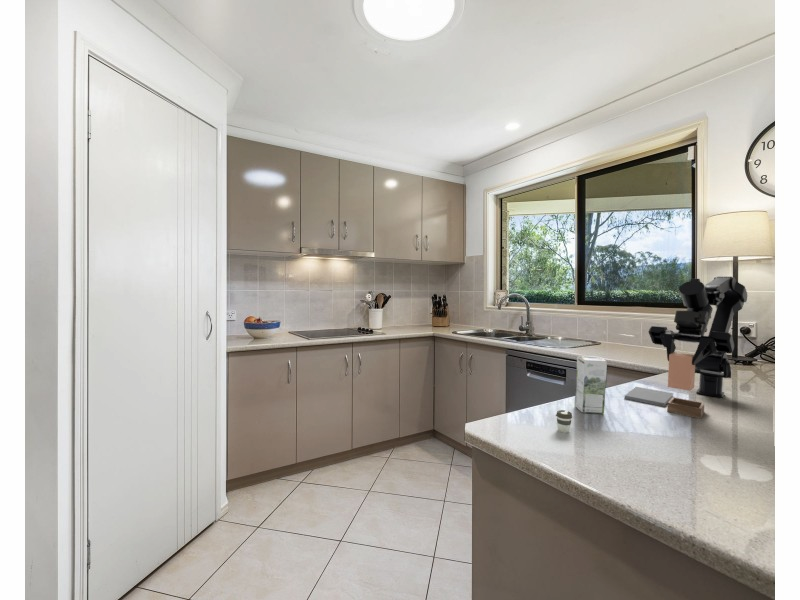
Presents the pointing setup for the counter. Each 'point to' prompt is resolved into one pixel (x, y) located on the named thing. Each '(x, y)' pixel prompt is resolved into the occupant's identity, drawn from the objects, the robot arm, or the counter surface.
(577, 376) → the syrup box
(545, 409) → the counter surface
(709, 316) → the robot arm
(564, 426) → the coffee cup
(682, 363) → the terracotta block
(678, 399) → the walnut holder
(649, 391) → the slate board
